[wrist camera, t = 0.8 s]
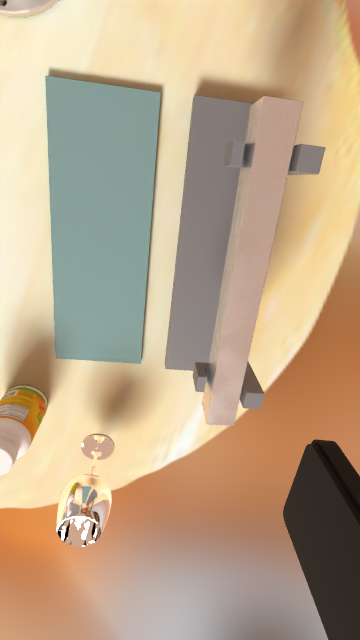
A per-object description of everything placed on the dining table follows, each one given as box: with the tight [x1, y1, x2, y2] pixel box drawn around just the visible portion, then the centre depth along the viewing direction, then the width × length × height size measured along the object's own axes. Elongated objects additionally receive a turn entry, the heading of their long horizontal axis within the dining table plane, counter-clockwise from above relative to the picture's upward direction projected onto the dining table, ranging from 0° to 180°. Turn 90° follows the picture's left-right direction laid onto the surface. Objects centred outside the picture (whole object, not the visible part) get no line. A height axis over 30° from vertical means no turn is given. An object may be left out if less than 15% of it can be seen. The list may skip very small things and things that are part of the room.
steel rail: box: [202, 96, 303, 425], centre depth 26 cm, size 24×2×3 cm, turn 173°
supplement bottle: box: [0, 386, 47, 475], centre depth 38 cm, size 5×5×10 cm
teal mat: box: [46, 76, 161, 364], centre depth 35 cm, size 28×10×1 cm, turn 173°
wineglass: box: [57, 435, 114, 546], centre depth 41 cm, size 6×6×12 cm
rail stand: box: [165, 95, 325, 409], centre depth 30 cm, size 28×8×14 cm, turn 173°
